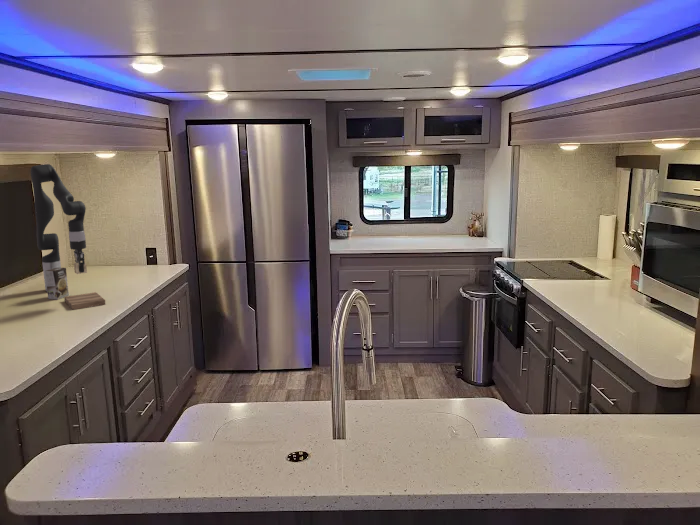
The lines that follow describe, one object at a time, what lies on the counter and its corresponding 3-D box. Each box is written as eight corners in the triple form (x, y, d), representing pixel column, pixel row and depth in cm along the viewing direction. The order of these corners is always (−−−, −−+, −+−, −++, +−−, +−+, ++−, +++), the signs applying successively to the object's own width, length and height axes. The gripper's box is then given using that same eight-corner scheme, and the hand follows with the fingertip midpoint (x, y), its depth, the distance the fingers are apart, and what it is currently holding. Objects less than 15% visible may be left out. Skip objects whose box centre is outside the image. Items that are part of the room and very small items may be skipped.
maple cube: (74, 272, 291) (73, 263, 290) (84, 271, 294) (84, 261, 293) (76, 274, 287) (75, 264, 286) (87, 272, 290) (86, 263, 289)
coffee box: (58, 299, 300) (54, 271, 297) (47, 299, 302) (44, 270, 298) (69, 295, 309) (66, 267, 306) (59, 294, 310) (56, 267, 307)
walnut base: (64, 301, 297) (64, 296, 297) (96, 296, 307) (95, 292, 306) (72, 309, 282) (71, 304, 281) (105, 304, 291) (105, 299, 291)
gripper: (66, 238, 291) (70, 269, 294) (72, 242, 279) (75, 274, 283) (82, 237, 295) (85, 268, 298) (88, 240, 284) (91, 272, 287)
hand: (80, 271), depth 291 cm, fingers closed on maple cube, 5 cm apart
